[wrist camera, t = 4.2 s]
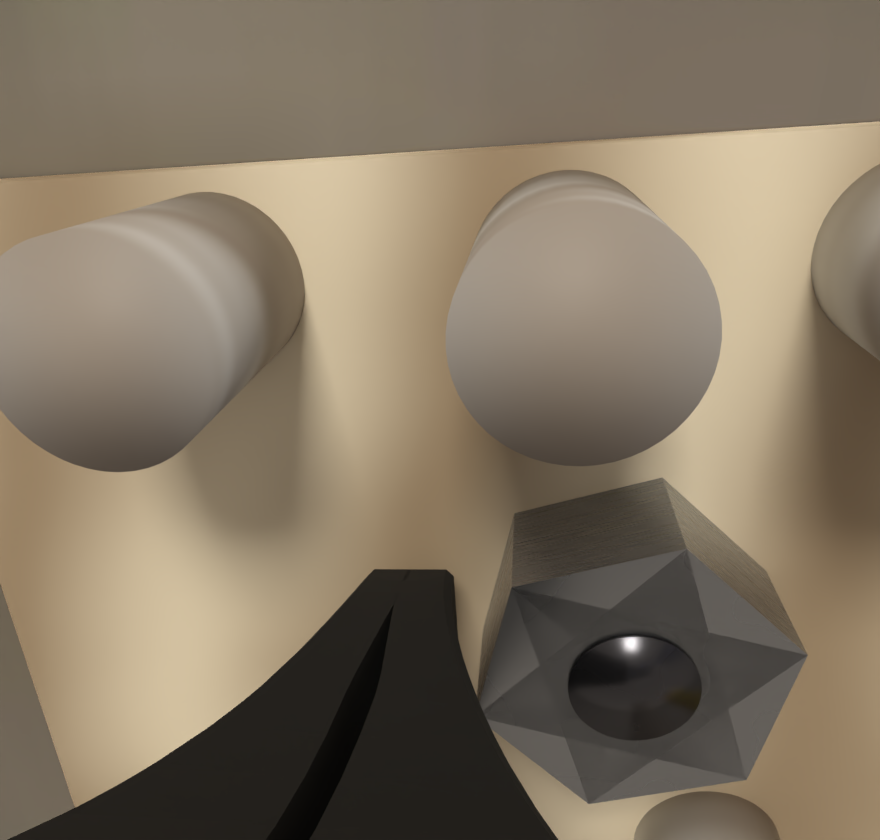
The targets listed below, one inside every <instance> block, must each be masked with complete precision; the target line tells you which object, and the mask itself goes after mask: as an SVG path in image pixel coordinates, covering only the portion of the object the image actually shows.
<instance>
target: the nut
mask: <svg viewBox="0 0 880 840" xmlns="http://www.w3.org/2000/svg"><path fill="white" fill-rule="evenodd" d="M807 656H808V654H807V652H806V650H805V648H804V646H803V644H802V642H801V640H800V638H799V636H798V634H797V632H796V630H795V628H794V626H793V624H792V622H791V620H790V618H789V616H788V614H787V612H786V610H785V608H784V606H783V604H782V602H781V600H780V598H779V596H778V594H777V592H776V590H775V588H774V586H773V584H772V582H771V580H770V578H769V576H768V574H767V572H766V570H765V569H764V568H763V567H762V566H760V565H759V564H758V563H757V562H756V561H755V560H754V559H753V558H752V557H750V556H749V555H748V554H747V553H746V552H745V551H744V550H743V549H742V548H740V547H739V546H738V545H737V544H736V543H735V542H734V541H733V540H731V539H730V538H729V537H728V536H727V535H726V534H725V533H724V532H723V531H721V530H720V529H719V528H718V527H717V526H716V525H715V524H714V523H713V522H711V521H710V520H709V519H708V518H707V517H706V516H705V515H704V514H702V513H701V512H700V511H699V510H698V509H697V508H696V507H695V506H694V505H692V504H691V503H690V502H689V501H688V500H687V499H686V498H685V497H684V496H682V495H681V494H680V493H679V492H678V491H677V490H676V489H675V488H673V487H672V486H671V485H670V484H669V483H668V482H667V481H666V480H665V479H663V478H658V479H654V480H650V481H646V482H641V483H637V484H633V485H629V486H625V487H621V488H617V489H612V490H608V491H604V492H600V493H596V494H592V495H588V496H583V497H579V498H575V499H571V500H567V501H563V502H559V503H555V504H550V505H546V506H542V507H538V508H534V509H530V510H526V511H521V512H517V513H514V517H513V520H512V524H511V528H510V531H509V535H508V539H507V543H506V546H505V550H504V554H503V557H502V561H501V565H500V568H499V572H498V576H497V579H496V583H495V587H494V590H493V594H492V598H491V601H490V605H489V609H488V613H487V616H486V620H485V624H484V627H483V634H482V645H481V656H480V667H479V678H478V689H477V698H478V700H479V703H480V705H481V708H482V710H483V712H484V715H485V717H486V719H487V721H488V723H489V725H490V727H491V729H492V730H493V731H494V732H496V733H497V734H498V735H500V736H501V737H502V738H503V739H505V740H506V741H507V742H509V743H510V744H511V745H513V746H514V747H515V748H516V749H518V750H519V751H520V752H522V753H523V754H524V755H526V756H527V757H528V758H529V759H531V760H532V761H533V762H535V763H536V764H537V765H539V766H540V767H541V768H542V769H544V770H545V771H546V772H548V773H549V774H550V775H552V776H553V777H554V778H555V779H557V780H558V781H559V782H561V783H562V784H563V785H565V786H566V787H567V788H568V789H570V790H571V791H572V792H574V793H575V794H576V795H578V796H579V797H580V798H581V799H583V800H584V801H585V802H587V803H588V804H593V803H600V802H606V801H613V800H619V799H626V798H632V797H639V796H646V795H652V794H659V793H665V792H672V791H678V790H685V789H691V788H698V787H704V786H711V785H717V784H724V783H730V782H737V781H743V780H747V778H748V776H749V774H750V772H751V770H752V768H753V766H754V764H755V762H756V760H757V758H758V756H759V754H760V752H761V750H762V748H763V746H764V744H765V742H766V740H767V738H768V736H769V734H770V732H771V729H772V727H773V725H774V723H775V721H776V719H777V717H778V715H779V713H780V711H781V709H782V707H783V705H784V703H785V701H786V699H787V697H788V695H789V693H790V691H791V689H792V687H793V685H794V683H795V681H796V679H797V676H798V674H799V672H800V670H801V668H802V666H803V664H804V662H805V660H806V658H807Z"/></svg>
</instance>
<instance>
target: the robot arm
mask: <svg viewBox="0 0 880 840" xmlns="http://www.w3.org/2000/svg"><path fill="white" fill-rule="evenodd" d="M8 840H558V838H557V837H556V836H555V834H554V833H553V831H552V830H551V829H550V827H549V826H548V824H547V823H546V821H545V820H544V819H543V817H542V816H541V814H540V813H539V811H538V810H537V809H536V807H535V805H534V804H533V802H532V800H531V799H530V797H529V796H528V794H527V792H526V791H525V789H524V787H523V786H522V784H521V782H520V781H519V779H518V778H517V776H516V774H515V773H514V771H513V769H512V768H511V766H510V764H509V763H508V761H507V759H506V757H505V755H504V753H503V751H502V749H501V748H500V746H499V744H498V742H497V740H496V738H495V736H494V734H493V732H492V730H491V727H490V725H489V723H488V721H487V719H486V717H485V715H484V712H483V710H482V708H481V705H480V703H479V700H478V698H477V695H476V693H475V690H474V688H473V685H472V682H471V679H470V677H469V674H468V671H467V668H466V665H465V662H464V659H463V655H462V651H461V648H460V644H459V640H458V629H457V615H456V601H455V586H454V576H453V575H452V574H451V573H450V572H449V571H448V570H446V569H374V570H373V571H372V572H371V573H370V574H369V575H368V576H367V577H366V578H365V579H364V580H363V581H362V583H361V584H360V585H359V586H358V587H357V588H356V589H355V591H354V592H353V593H352V594H351V595H350V596H349V597H348V598H347V600H346V601H345V602H344V603H343V604H342V605H341V606H340V607H339V609H338V610H337V611H336V612H335V613H334V614H333V615H332V616H331V617H330V618H329V620H328V621H327V622H326V623H325V624H324V625H323V626H322V627H321V628H320V629H319V630H318V631H317V632H316V633H315V634H314V635H313V636H312V637H311V638H310V639H309V641H308V642H307V643H306V644H305V645H304V646H303V647H302V648H301V649H300V650H299V651H298V652H297V653H296V654H295V655H294V656H293V657H291V658H290V659H289V660H288V661H287V662H286V663H285V664H284V665H283V666H282V667H281V668H280V669H279V670H278V671H277V672H275V673H274V674H273V675H272V676H271V677H270V678H269V679H268V680H267V681H266V682H265V683H264V684H263V685H261V686H260V687H259V688H258V689H257V690H256V691H254V692H253V693H252V694H251V695H250V696H248V697H247V698H246V699H245V700H244V701H242V702H241V703H240V704H238V705H237V706H236V707H234V708H233V709H232V710H231V711H229V712H228V713H227V714H225V715H224V716H223V717H222V718H220V719H219V720H218V721H216V722H215V723H214V724H212V725H211V726H209V727H208V728H207V729H205V730H204V731H202V732H201V733H199V734H198V735H196V736H195V737H193V738H192V739H190V740H189V741H187V742H186V743H184V744H183V745H181V746H180V747H178V748H177V749H175V750H174V751H172V752H171V753H169V754H168V755H166V756H165V757H163V758H162V759H160V760H159V761H157V762H156V763H154V764H152V765H151V766H149V767H147V768H146V769H144V770H142V771H141V772H139V773H137V774H136V775H134V776H132V777H130V778H129V779H127V780H125V781H124V782H122V783H120V784H118V785H117V786H115V787H113V788H111V789H109V790H107V791H106V792H104V793H102V794H100V795H98V796H96V797H94V798H93V799H91V800H89V801H87V802H85V803H83V804H81V805H79V806H77V807H75V808H74V809H72V810H70V811H68V812H66V813H64V814H62V815H59V816H57V817H55V818H53V819H51V820H49V821H47V822H44V823H42V824H40V825H38V826H36V827H34V828H32V829H29V830H27V831H25V832H23V833H21V834H19V835H17V836H14V837H12V838H10V839H8Z"/></svg>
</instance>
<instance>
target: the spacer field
mask: <svg viewBox="0 0 880 840" xmlns="http://www.w3.org/2000/svg"><path fill="white" fill-rule="evenodd" d="M658 478H663V479H665V480H666V481H667V482H668V483H669V484H670V485H671V486H672V487H673V488H675V489H676V490H677V491H678V492H679V493H680V494H681V495H682V496H684V497H685V498H686V499H687V500H688V501H689V502H690V503H691V504H692V505H694V506H695V507H696V508H697V509H698V510H699V511H700V512H701V513H702V514H704V515H705V516H706V517H707V518H708V519H709V520H710V521H711V522H713V523H714V524H715V525H716V526H717V527H718V528H719V529H720V530H721V531H723V532H724V533H725V534H726V535H727V536H728V537H729V538H730V539H731V540H733V541H734V542H735V543H736V544H737V545H738V546H739V547H740V548H742V549H743V550H744V551H745V552H746V553H747V554H748V555H749V556H750V557H752V558H753V559H754V560H755V561H756V562H757V563H758V564H759V565H760V566H762V567H763V568H764V569H765V570H766V572H767V574H768V576H769V578H770V580H771V582H772V584H773V586H774V588H775V590H776V592H777V594H778V596H779V598H780V600H781V602H782V604H783V606H784V608H785V610H786V612H787V614H788V616H789V618H790V620H791V622H792V624H793V626H794V628H795V630H796V632H797V634H798V636H799V638H800V640H801V642H802V644H803V646H804V648H805V650H806V652H807V654H808V656H807V658H806V660H805V662H804V664H803V666H802V668H801V670H800V672H799V674H798V676H797V679H796V681H795V683H794V685H793V687H792V689H791V691H790V693H789V695H788V697H787V699H786V701H785V703H784V705H783V707H782V709H781V711H780V713H779V715H778V717H777V719H776V721H775V723H774V725H773V727H772V729H771V732H770V734H769V736H768V738H767V740H766V742H765V744H764V746H763V748H762V750H761V752H760V754H759V756H758V758H757V760H756V762H755V764H754V766H753V768H752V770H751V772H750V774H749V776H748V778H747V780H743V781H737V782H730V783H724V784H717V785H711V786H704V787H698V788H691V789H685V790H678V791H672V792H665V793H659V794H652V795H646V796H639V797H632V798H626V799H619V800H613V801H606V802H600V803H593V804H588V803H587V802H585V801H584V800H583V799H581V798H580V797H579V796H578V795H576V794H575V793H574V792H572V791H571V790H570V789H568V788H567V787H566V786H565V785H563V784H562V783H561V782H559V781H558V780H557V779H555V778H554V777H553V776H552V775H550V774H549V773H548V772H546V771H545V770H544V769H542V768H541V767H540V766H539V765H537V764H536V763H535V762H533V761H532V760H531V759H529V758H528V757H527V756H526V755H524V754H523V753H522V752H520V751H519V750H518V749H516V748H515V747H514V746H513V745H511V744H510V743H509V742H507V741H506V740H505V739H503V738H502V737H501V736H500V735H498V734H497V733H496V732H494V731H493V730H492V729H491V730H492V732H493V734H494V736H495V738H496V740H497V742H498V744H499V746H500V748H501V749H502V751H503V753H504V755H505V757H506V759H507V761H508V763H509V764H510V766H511V768H512V769H513V771H514V773H515V774H516V776H517V778H518V779H519V781H520V782H521V784H522V786H523V787H524V789H525V791H526V792H527V794H528V796H529V797H530V799H531V800H532V802H533V804H534V805H535V807H536V809H537V810H538V811H539V813H540V814H541V816H542V817H543V819H544V820H545V821H546V823H547V824H548V826H549V827H550V829H551V830H552V831H553V833H554V834H555V836H556V837H557V838H558V840H880V122H866V123H851V124H835V125H820V126H805V127H789V128H774V129H758V130H743V131H728V132H712V133H697V134H681V135H666V136H651V137H635V138H620V139H604V140H589V141H574V142H558V143H543V144H527V145H512V146H497V147H481V148H466V149H451V150H435V151H420V152H404V153H389V154H374V155H358V156H343V157H327V158H312V159H297V160H281V161H266V162H250V163H235V164H220V165H204V166H189V167H173V168H158V169H143V170H127V171H112V172H97V173H81V174H66V175H50V176H35V177H20V178H4V179H0V584H1V587H2V590H3V593H4V596H5V599H6V602H7V605H8V608H9V611H10V614H11V617H12V620H13V623H14V626H15V629H16V632H17V635H18V638H19V641H20V644H21V647H22V650H23V653H24V656H25V659H26V662H27V665H28V668H29V671H30V674H31V677H32V680H33V683H34V686H35V689H36V692H37V695H38V698H39V701H40V704H41V707H42V710H43V713H44V716H45V719H46V722H47V725H48V728H49V731H50V734H51V737H52V740H53V743H54V746H55V749H56V752H57V755H58V758H59V761H60V764H61V767H62V770H63V773H64V776H65V779H66V782H67V785H68V788H69V791H70V794H71V797H72V800H73V803H74V806H75V807H77V806H79V805H81V804H83V803H85V802H87V801H89V800H91V799H93V798H94V797H96V796H98V795H100V794H102V793H104V792H106V791H107V790H109V789H111V788H113V787H115V786H117V785H118V784H120V783H122V782H124V781H125V780H127V779H129V778H130V777H132V776H134V775H136V774H137V773H139V772H141V771H142V770H144V769H146V768H147V767H149V766H151V765H152V764H154V763H156V762H157V761H159V760H160V759H162V758H163V757H165V756H166V755H168V754H169V753H171V752H172V751H174V750H175V749H177V748H178V747H180V746H181V745H183V744H184V743H186V742H187V741H189V740H190V739H192V738H193V737H195V736H196V735H198V734H199V733H201V732H202V731H204V730H205V729H207V728H208V727H209V726H211V725H212V724H214V723H215V722H216V721H218V720H219V719H220V718H222V717H223V716H224V715H225V714H227V713H228V712H229V711H231V710H232V709H233V708H234V707H236V706H237V705H238V704H240V703H241V702H242V701H244V700H245V699H246V698H247V697H248V696H250V695H251V694H252V693H253V692H254V691H256V690H257V689H258V688H259V687H260V686H261V685H263V684H264V683H265V682H266V681H267V680H268V679H269V678H270V677H271V676H272V675H273V674H274V673H275V672H277V671H278V670H279V669H280V668H281V667H282V666H283V665H284V664H285V663H286V662H287V661H288V660H289V659H290V658H291V657H293V656H294V655H295V654H296V653H297V652H298V651H299V650H300V649H301V648H302V647H303V646H304V645H305V644H306V643H307V642H308V641H309V639H310V638H311V637H312V636H313V635H314V634H315V633H316V632H317V631H318V630H319V629H320V628H321V627H322V626H323V625H324V624H325V623H326V622H327V621H328V620H329V618H330V617H331V616H332V615H333V614H334V613H335V612H336V611H337V610H338V609H339V607H340V606H341V605H342V604H343V603H344V602H345V601H346V600H347V598H348V597H349V596H350V595H351V594H352V593H353V592H354V591H355V589H356V588H357V587H358V586H359V585H360V584H361V583H362V581H363V580H364V579H365V578H366V577H367V576H368V575H369V574H370V573H371V572H372V571H373V570H374V569H446V570H448V571H449V572H450V573H451V574H452V575H453V576H454V586H455V601H456V615H457V629H458V640H459V644H460V648H461V651H462V655H463V659H464V662H465V665H466V668H467V671H468V674H469V677H470V679H471V682H472V685H473V688H474V690H475V693H476V695H477V689H478V678H479V667H480V656H481V645H482V634H483V627H484V624H485V620H486V616H487V613H488V609H489V605H490V601H491V598H492V594H493V590H494V587H495V583H496V579H497V576H498V572H499V568H500V565H501V561H502V557H503V554H504V550H505V546H506V543H507V539H508V535H509V531H510V528H511V524H512V520H513V517H514V513H517V512H521V511H526V510H530V509H534V508H538V507H542V506H546V505H550V504H555V503H559V502H563V501H567V500H571V499H575V498H579V497H583V496H588V495H592V494H596V493H600V492H604V491H608V490H612V489H617V488H621V487H625V486H629V485H633V484H637V483H641V482H646V481H650V480H654V479H658Z"/></svg>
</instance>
